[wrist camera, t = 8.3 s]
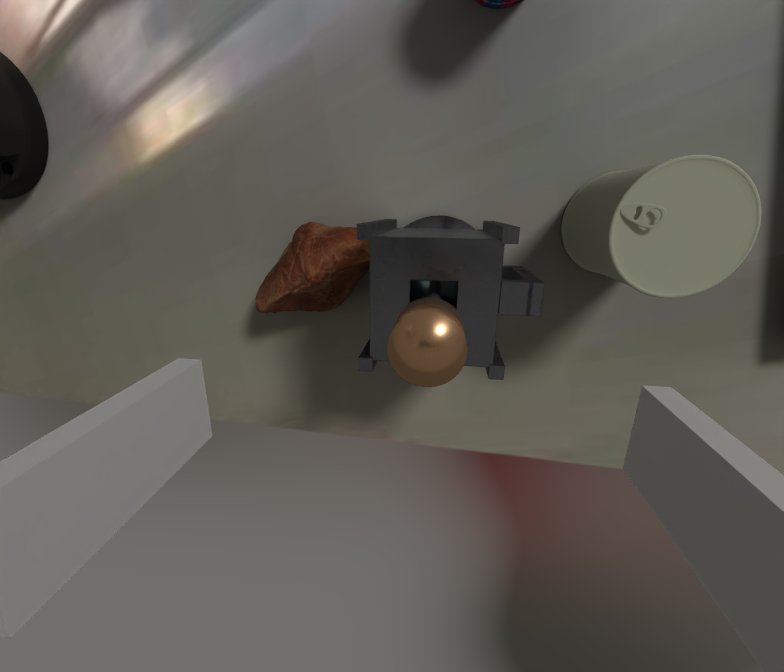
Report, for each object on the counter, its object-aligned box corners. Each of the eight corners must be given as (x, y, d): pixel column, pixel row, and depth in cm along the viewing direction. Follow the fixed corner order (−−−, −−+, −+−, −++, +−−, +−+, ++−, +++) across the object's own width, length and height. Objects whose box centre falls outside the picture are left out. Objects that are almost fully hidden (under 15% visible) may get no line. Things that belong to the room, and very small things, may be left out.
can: (588, 156, 35) (656, 131, 24) (687, 189, 35) (803, 180, 24) (544, 255, 38) (585, 274, 27) (635, 286, 38) (715, 319, 27)
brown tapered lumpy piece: (392, 213, 36) (333, 278, 30) (406, 287, 41) (359, 354, 35) (285, 206, 41) (217, 259, 35) (310, 272, 47) (255, 327, 41)
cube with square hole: (383, 321, 43) (353, 375, 29) (383, 214, 39) (350, 217, 25) (509, 328, 41) (541, 387, 27) (521, 216, 38) (565, 221, 24)
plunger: (399, 310, 39) (354, 412, 19) (401, 239, 37) (351, 272, 17) (470, 314, 38) (496, 423, 19) (476, 241, 36) (512, 278, 16)
